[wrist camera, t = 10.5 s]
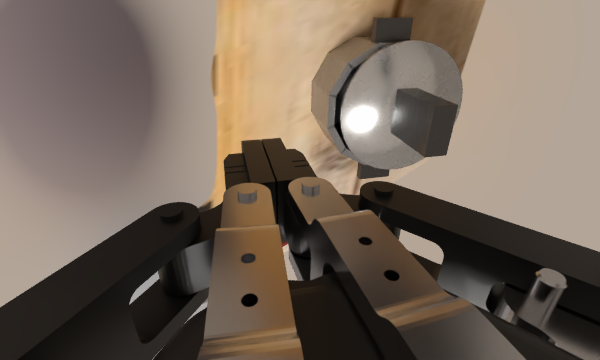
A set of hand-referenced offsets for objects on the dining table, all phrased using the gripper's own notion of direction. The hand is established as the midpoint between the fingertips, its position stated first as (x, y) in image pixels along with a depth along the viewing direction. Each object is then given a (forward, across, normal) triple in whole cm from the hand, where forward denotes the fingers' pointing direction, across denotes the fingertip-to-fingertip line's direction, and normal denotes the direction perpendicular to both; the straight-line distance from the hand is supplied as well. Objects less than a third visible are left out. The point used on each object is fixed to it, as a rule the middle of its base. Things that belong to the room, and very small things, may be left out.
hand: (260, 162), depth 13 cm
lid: (+22, -18, +5) cm, 29 cm away
